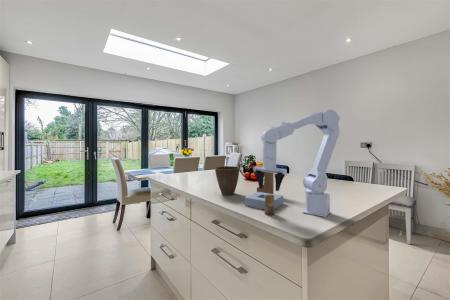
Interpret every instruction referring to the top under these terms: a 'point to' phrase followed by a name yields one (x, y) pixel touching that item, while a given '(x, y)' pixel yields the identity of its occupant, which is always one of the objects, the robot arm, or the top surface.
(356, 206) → the top surface
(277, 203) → the socket
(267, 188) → the wooden block
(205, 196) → the top surface
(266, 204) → the peg
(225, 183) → the plant pot
